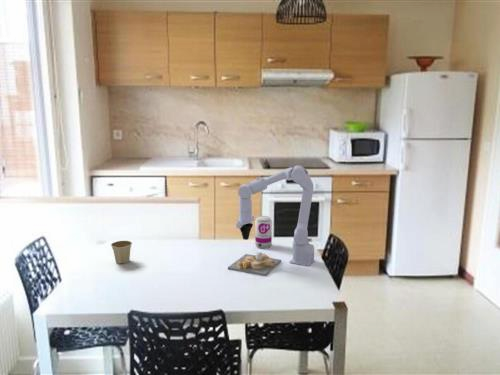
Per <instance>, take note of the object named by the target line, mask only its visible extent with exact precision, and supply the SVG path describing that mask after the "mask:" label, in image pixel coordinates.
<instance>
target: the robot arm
mask: <svg viewBox="0 0 500 375" xmlns="http://www.w3.org/2000/svg"><path fill="white" fill-rule="evenodd" d="M283 180H287V181H291V180H292V181H293V182H294V183H296V184H298V185H299V186H300V187H301V189H302V194H301V201H300V208H299V213H298V220H297V225H296V227H295V229H294V232H293V234H294V235H293V241H292V259H291V260H290V261H289V263H290V264H295V265H302V266H306V267H307V266H308V267H309V266H311V265H312V264H313V263H314V261H315V245H314V244H311V243H310V242H309V241H310V240H308V239H309V236H308V234H309V231H308V225H309V218H310V214H311V213H310V212H311V206H312V200H313V194H314V193H313V192H314V188H315V187H314V186H315V185H314V183H313V180H312V178H311V176H310V174H309V172H308V170H307V169H306V168H305V167H304V166H302V165H300V164H297V165H295V166H291V167H287V168H285V169H283V170H280V171H278V172H276V173H274V174H272V175H270V176H269V177H266V178H264V177H262V176H261V177H256V178H255V179H254V180H251V181H250V182H249V181H247V182H246V183H243V184H242V185H241V186H240V187H239V188H238V191H237V194H238V196H239V197H238V200H239V201H238V215H239V216H238V218H237V219H236V221H237V223H236V224H235V225H236V229H239V230H240V232H241V236H242V239H243V240H244V241H245V240H246V241H247V240H249V239H250V233H251V230H252V228H253V226H254V224H253V223H252V222H253V221H254V222H255V216H253V215H252V214H253V211H252V208H253V207H252V206H253V205H252V195H256V194H258V193H261V192H262V191H263V192H264V191H265V190H267V188H268V186H271V185H272V184H275V183H278V182H279V181H283Z"/></svg>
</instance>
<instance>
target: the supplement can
mask: <svg viewBox="0 0 500 375" xmlns="http://www.w3.org/2000/svg"><path fill="white" fill-rule="evenodd" d="M254 222H255V223H254V228H255V230H254V234H255V236H254V237H255V241H254V242H255V244H254V245H255V247H257V248H258V249H269V248H271V246H272V245H273V244H272V243H273V242H272V240H273V237H272V236H273V235H272V234H273V232H272V231H273V227H272V225H273V224H272V218H271V217H270V216H268V215H261V216H260V215H259V216H256V219H254Z"/></svg>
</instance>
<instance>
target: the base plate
mask: <svg viewBox="0 0 500 375" xmlns="http://www.w3.org/2000/svg"><path fill="white" fill-rule="evenodd" d="M262 254H263V252H260V251H258V252H255V255H256V261H260V260H262ZM252 255H253V254H248V253H246V254H244V255H242V256H241V257H240V258H238V259H237V260H236V261H234V262H233V263H232V264H230V265H229V266H228V267H227V270H230V271H236V272H240V273H245V274H252V275H256V276H263V277H266V276H267V275H268V274H270V272H272V271H273V270H274V269H275V268H276V267H277V266H278V265H279V264H280V263H281V262H282V260H281V259H280V258H279V259H278V258H273V257H270V258H271V259H272V260H274V266H271V267H265V268H260V269H254V270H253V269H252V268H251V267H246V262H243V268H241V269H239V268H238V267H237V261H241V260H244V257H246V256H252Z"/></svg>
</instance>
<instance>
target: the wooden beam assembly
mask: <svg viewBox="0 0 500 375" xmlns="http://www.w3.org/2000/svg"><path fill="white" fill-rule="evenodd" d="M251 255H252V256H246V257H244V260H241V261H237V260H236V261H237V267H238V268H239V269H241V268H243V262H246V267H251V268H252V269H253V270H254V269H260V268H265V267H271V266H274V260H272V259H271V258H272V257H270V256H268V255H267V254H266V253H262V260H260V261H256V254H251Z"/></svg>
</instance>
